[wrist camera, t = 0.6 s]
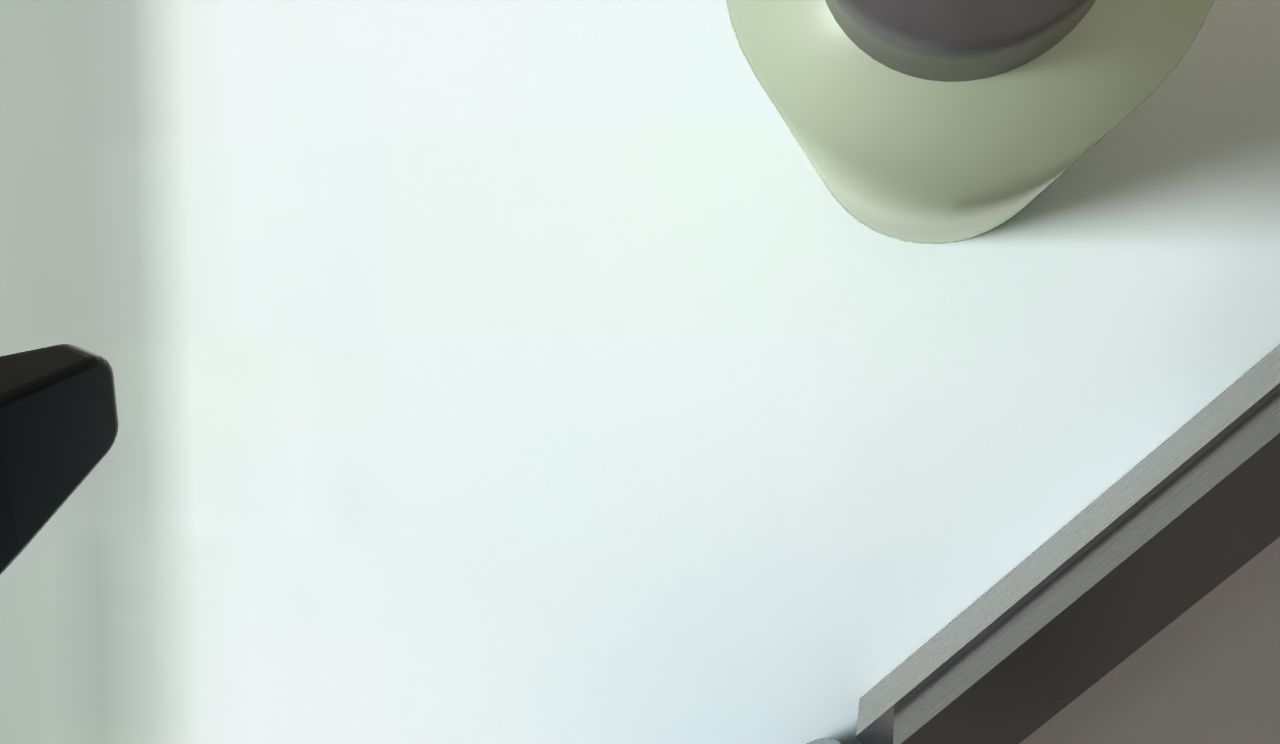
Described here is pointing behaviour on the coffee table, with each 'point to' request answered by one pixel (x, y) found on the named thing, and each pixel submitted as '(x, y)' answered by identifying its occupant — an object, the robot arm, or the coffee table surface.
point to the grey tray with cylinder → (1125, 609)
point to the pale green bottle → (955, 95)
